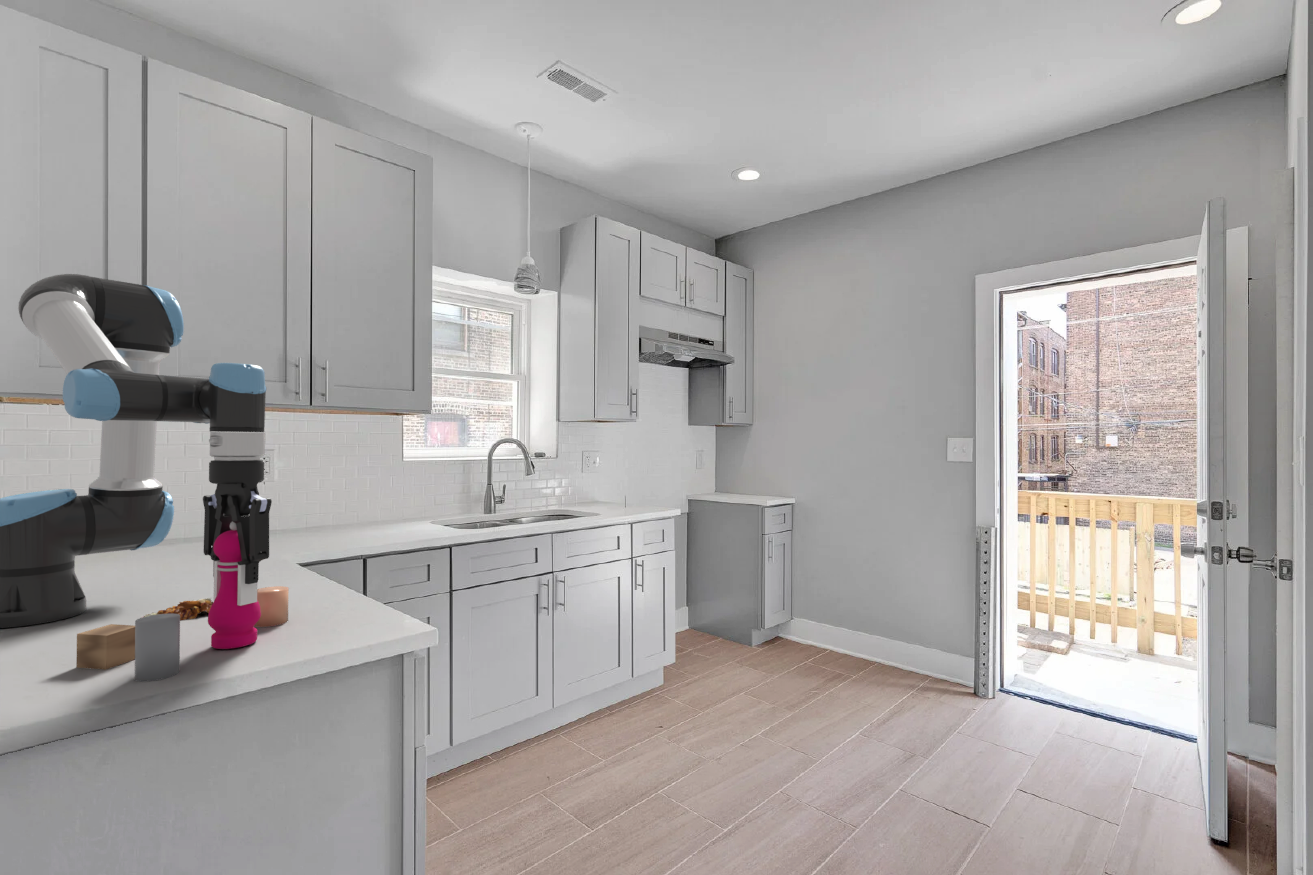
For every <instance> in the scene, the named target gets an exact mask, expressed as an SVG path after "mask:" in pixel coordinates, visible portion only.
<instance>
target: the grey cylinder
mask: <svg viewBox="0 0 1313 875" xmlns="http://www.w3.org/2000/svg"><path fill="white" fill-rule="evenodd" d="M134 626H135V660H134V680H135V682H153V681H159V680H160V681H161V680H164V679H168V678H172V677H173V676H175V675H178V674H179V673H180V661H181V660H180V658H181V656H180V647H181V646H180V644H181V643H180V642H181V621H180V615H179V614H158V615H151V616H146V617H144V616H143V617H140V618H137V619H136V620H135V622H134Z"/></svg>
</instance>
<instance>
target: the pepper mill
mask: <svg viewBox="0 0 1313 875" xmlns="http://www.w3.org/2000/svg"><path fill="white" fill-rule="evenodd" d="M230 529H231V530H230V531H226V532H224V533H222V534H220V535H219V536H218V537H217V539H216V540H215V542H214V548H213V549H214V553H215V554H216V555H217V556H218V557H219V559H220V561H218V562H217V564H218V567H217V570H219V571H220V575H221V583H220V589H219V592H218V594H217V597H216V598H215V600H214V599H213V601H212V602H213V604H212V606H211V608H210V611H209V613H208V618H207V624H208V626H209V627H210V628H211V629H212V630H214V631H215V632H214V633H212V634H211V636H210V643H211V644H210V646H211V648H213V649H219V650H230V649H237V648H242V647H246V646H250V645H252V644H254V643H255V642H257V640H258V629H257V627H255V626H254V625H255V624H256V623H257V622H258V620H259V619H260V617H261V609H260V605H259V602H258V600H257V602H254V603H250V604H246V605H242V606H239V605H237V602H238V563H237V562H240V561H242V558H241V552H240V545H239V540H238V533H237V527H236V523H234V522H233V521H232V522H231V523H230ZM249 555H250V554H249Z"/></svg>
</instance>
